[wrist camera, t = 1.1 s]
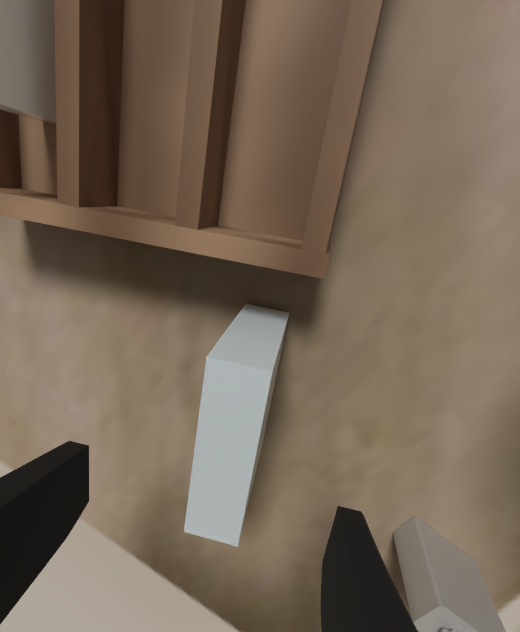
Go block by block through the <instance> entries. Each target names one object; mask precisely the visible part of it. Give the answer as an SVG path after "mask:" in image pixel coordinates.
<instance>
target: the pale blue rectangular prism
mask: <svg viewBox="0 0 520 632" xmlns="http://www.w3.org/2000/svg"><path fill="white" fill-rule="evenodd" d="M288 317H289V313H288V312H283V311H278V310H274V309H269V308H264V307H259V306H254V305H250V304H245V305H244V307H243V308H242V309H241V311H240V312H239V314H238V315H237V316H236V318H235V319H234V320H233V322H232V323H231V324H230V326H229V327H228V328H227V330H226V331H225V333H224V334H223V335H222V337H221V338H220V339H219V341H218V342H217V343H216V345H215V346H214V347H213V349H212V350H211V352H210V353H209V354H208V356H207V358H206V365H205V373H204V381H203V388H202V396H201V404H200V411H199V419H198V427H197V434H196V442H195V450H194V457H193V465H192V473H191V481H190V488H189V496H188V504H187V511H186V519H185V527H184V532H186V533H190V534H194V535H197V536H201V537H204V538H208V539H212V540H215V541H219V542H222V543H226V544H230V545H233V546H237V547H238V544H239V540H240V536H241V531H242V527H243V523H244V519H245V515H246V511H247V507H248V502H249V498H250V494H251V490H252V486H253V482H254V478H255V473H256V469H257V465H258V461H259V457H260V453H261V449H262V444H263V440H264V435H265V430H266V425H267V420H268V415H269V410H270V405H271V401H272V396H273V391H274V386H275V381H276V376H277V371H278V366H279V361H280V356H281V351H282V346H283V341H284V336H285V331H286V327H287V322H288Z"/></svg>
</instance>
